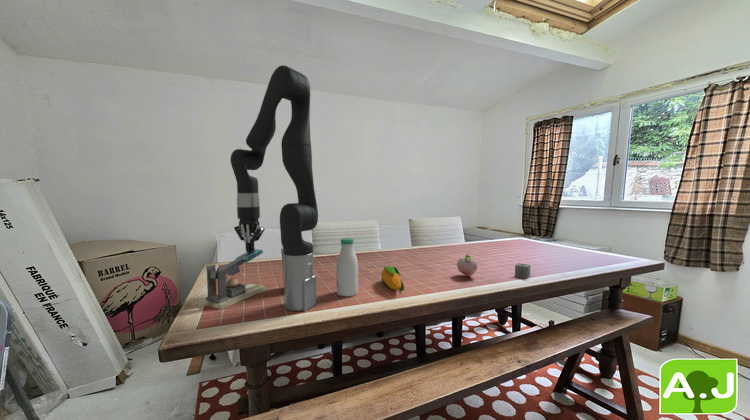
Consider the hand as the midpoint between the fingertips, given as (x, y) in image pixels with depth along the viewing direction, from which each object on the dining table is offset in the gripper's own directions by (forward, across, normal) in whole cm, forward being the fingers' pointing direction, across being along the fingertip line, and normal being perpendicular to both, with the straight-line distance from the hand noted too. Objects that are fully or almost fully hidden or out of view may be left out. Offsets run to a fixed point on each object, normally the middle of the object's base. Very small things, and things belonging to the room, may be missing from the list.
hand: (250, 252), depth 104 cm
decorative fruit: (+15, -73, -50) cm, 90 cm away
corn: (+15, -48, -24) cm, 55 cm away
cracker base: (+14, 0, +7) cm, 16 cm away
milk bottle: (+15, -34, -11) cm, 39 cm away
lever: (+8, 0, +7) cm, 11 cm away
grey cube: (+15, -96, -60) cm, 114 cm away
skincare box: (+15, -13, -8) cm, 21 cm away
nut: (+11, 0, +8) cm, 14 cm away
